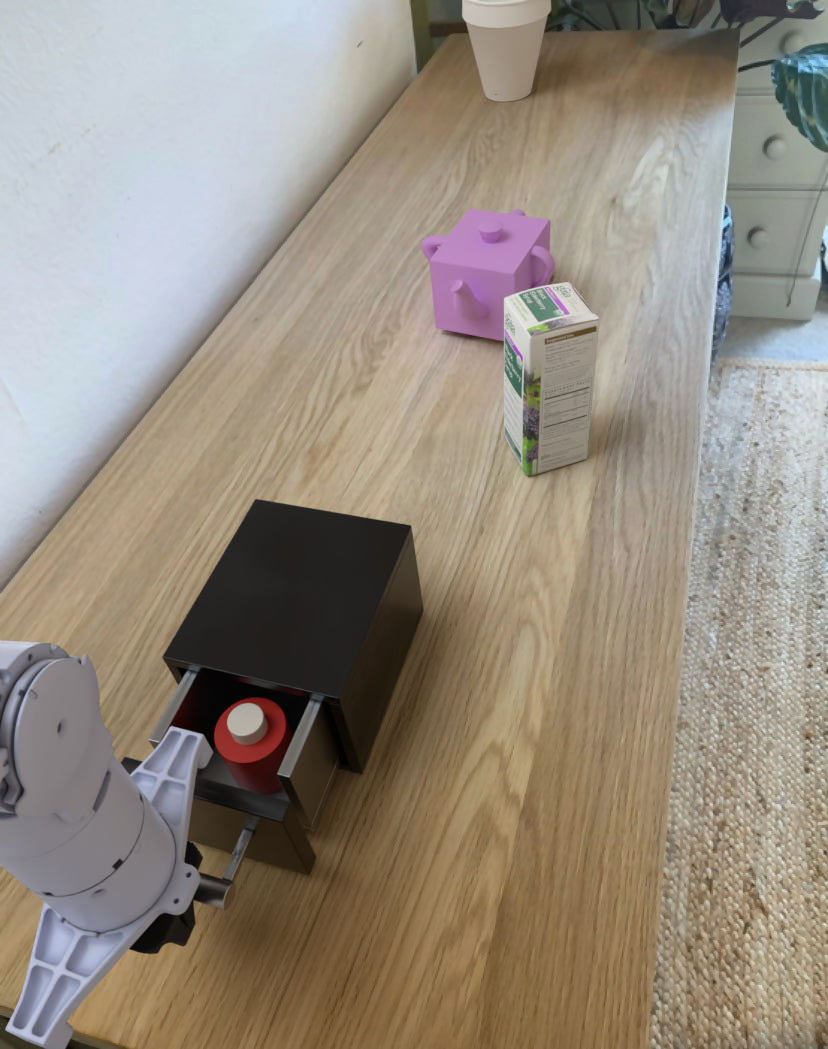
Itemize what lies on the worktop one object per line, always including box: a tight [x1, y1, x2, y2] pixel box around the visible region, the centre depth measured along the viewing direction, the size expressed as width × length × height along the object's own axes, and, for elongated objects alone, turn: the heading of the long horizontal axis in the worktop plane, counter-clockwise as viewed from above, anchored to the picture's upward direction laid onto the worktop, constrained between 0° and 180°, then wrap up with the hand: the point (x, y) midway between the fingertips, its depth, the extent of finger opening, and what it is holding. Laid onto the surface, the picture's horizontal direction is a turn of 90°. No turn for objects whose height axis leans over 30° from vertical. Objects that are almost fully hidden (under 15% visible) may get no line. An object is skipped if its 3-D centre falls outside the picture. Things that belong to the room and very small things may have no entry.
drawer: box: [120, 669, 345, 911], centre depth 52 cm, size 17×10×8 cm, turn 162°
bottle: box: [214, 697, 294, 794], centre depth 53 cm, size 4×4×6 cm
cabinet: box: [161, 498, 425, 776], centre depth 58 cm, size 14×12×10 cm
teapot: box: [420, 208, 556, 342], centre depth 85 cm, size 18×14×10 cm
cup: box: [461, 0, 552, 103], centre depth 121 cm, size 12×12×14 cm
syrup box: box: [503, 281, 600, 477], centre depth 69 cm, size 6×6×14 cm
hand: (174, 929), depth 46 cm, fingers closed
